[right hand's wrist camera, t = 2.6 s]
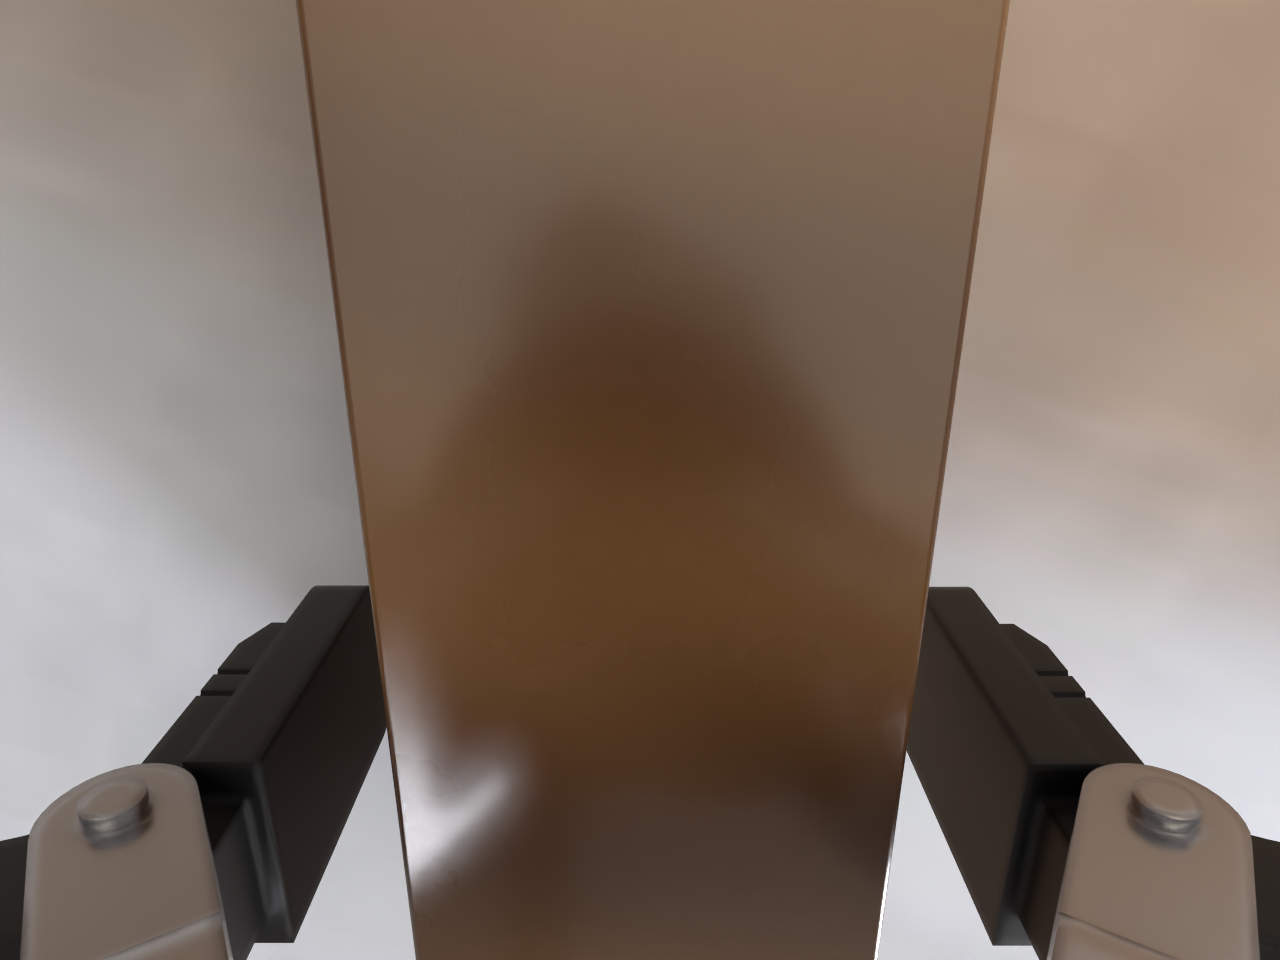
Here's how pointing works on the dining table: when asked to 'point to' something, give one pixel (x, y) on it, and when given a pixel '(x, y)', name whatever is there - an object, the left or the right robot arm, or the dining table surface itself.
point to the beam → (649, 445)
